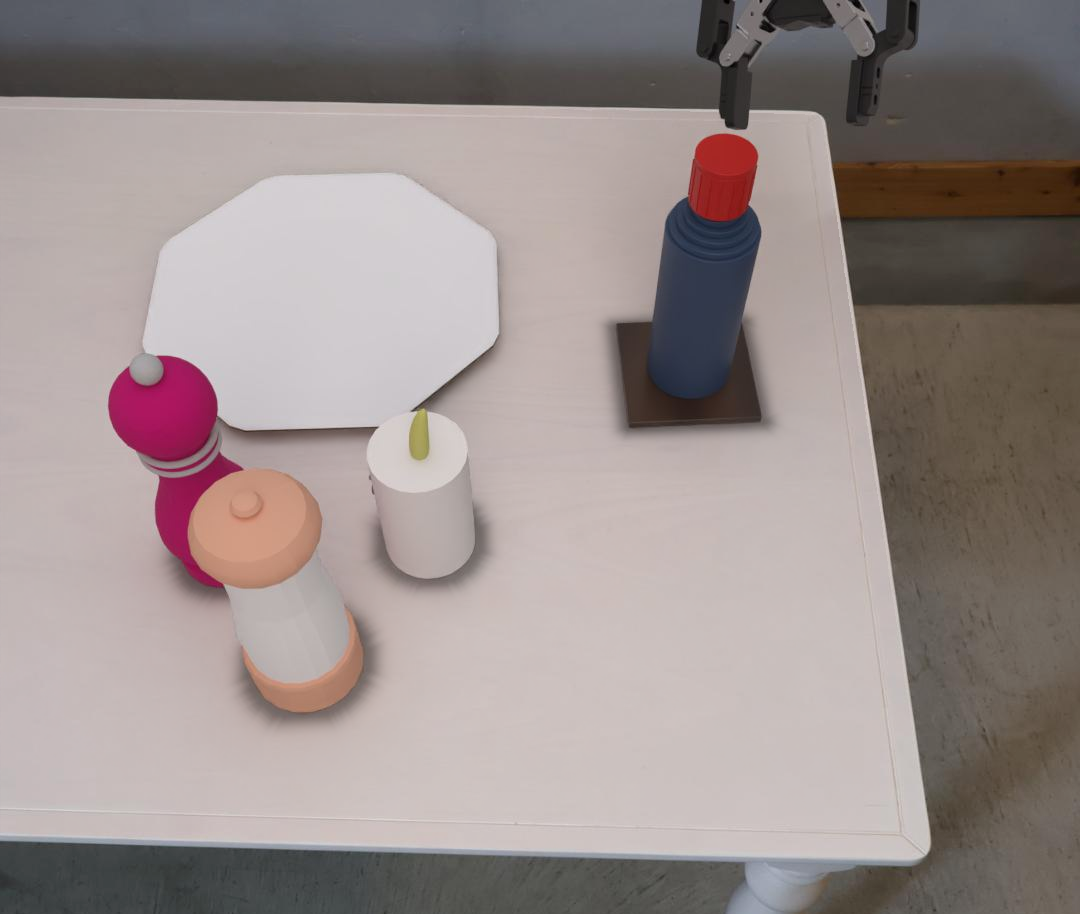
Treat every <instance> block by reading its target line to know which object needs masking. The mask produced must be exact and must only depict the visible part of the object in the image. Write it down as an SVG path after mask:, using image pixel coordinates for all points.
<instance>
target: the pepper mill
mask: <svg viewBox="0 0 1080 914" xmlns="http://www.w3.org/2000/svg"><path fill="white" fill-rule="evenodd" d="M107 400H108V402H107V409H108V416H109V417H108V418H109V421H110V423H111V425H112V428H113V430H114V432H115V433H116V434H117V436H118V437H119V438H120V440H121V441H123V443H124V444H125V445H126V446H127V447H129V448H130V449H132V450H134V451H135V453H136V454H137V456H138V458H139V461H140V462H141V464H142V466H143V467H144V468H145V469H147V470H148V471H149V472H150V473H152V474H154V475H157V476H158V486H157V491H156V495H155V500H154V518H155V519H154V520H155V526H156V528H157V531H158V535H159V537H160V539H161V541H162V543H163V545H164V546H165V547H166V549H167V550H168V552H170V553H171V554H172V555H173V556H174V557H175V558H178V559H179V560H180V561H181V563H182V565H183V566H184V568H185V569H186V571H187V573H188V574H189V575H190V576H191V578H193V579H194V580H196V581H197V582H198V583H201V584H203V585H206V586H210V587H215V588H225V587H224V585H223V583H221V582H219V581H217V580H216V579H214V578H213V577H211V576H210V575H209V574H207V573H206V572H204V571H203V570H201V568H200V567H199V565H198V564H197V562H196V561H195V560H194V558H193V557H192V555H191V551H190V546H189V541H188V526H189V521H190V515H191V512H192V510H193V509H194V507H195V505H196V503H197V502H198V500H199V498H200V497H201V496H202V494H203V493H204V492H205V491H206V490H208V489H209V488H210V487H211V486H212V485H213V484H214V483H215V482H216V481H218V480H220V479H222V478H223V477H225V476H227V475H229V474H231V473H234V472H238V471H242V470H245V468H243V467H242V466H241V465H239V464H237V462H234V461H232V460H231V459H229V458H227V457H226V456H224V455H223V454H222V453H221V448H222V443H223V433H222V429H221V427H220V425H219V422H218V416H217V414H218V401H217V397H216V393H215V391H214V389H213V387H212V385H211V383H210V381H209V380H208V378H207V377H206V376H205V375H204V373H203V372H202V371H201V370H200V369H199V368H197V367H196V366H195V365H193V364H192V363H190V362H188V361H186V360H184V359H181V358H178V357H173V356H164V355H158V356H154V355H153V354H148V353H145V352H144V353H139V354H137V355H135V356H134V357H133V358H132V359H131V361H130V363H129V365H128V366H126V368H124V370H122V371H121V372H120V373H119V374H118V375H117V377H116V378H115V380H114V381H113V383H112V384H111V388H110V390H109V394H108V399H107Z"/></svg>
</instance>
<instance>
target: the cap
mask: <svg viewBox="0 0 1080 914" xmlns="http://www.w3.org/2000/svg"><path fill="white" fill-rule="evenodd" d="M758 162H759V152H758V150H757V148H756V146H755V145H754V144H753V143H752V142H751V141H750V140H748V138H747V139H746V138H745V137H742V136H740V135H737V134H733V133H724V132H723V133H722V132H721V133H714V134H711V135H707V136H706V137H704V138H703V139H701V140H700V141H699V142H698V143H697V145H696V147H695V150H694V155H693V159H692V164H691V171H690V176H689V183H688V188H687V189H688V190H687V196H688V201H689V204H690V206H691V208H692V209H693V211H694V212H695V213H697V214H698V215H700V216H701V217H703V218H705V219H709V220H713V221H730V220H733V219H736V218H738V217H740V216H741V215H742V214H743V213H744V212H745V211H746V210H747V208H748V205H750V201H751V198H752V193H753V188H754V185H755V180H756V174H757V170H758V167H759V166H758Z"/></svg>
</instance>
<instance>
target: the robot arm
mask: <svg viewBox="0 0 1080 914" xmlns="http://www.w3.org/2000/svg"><path fill="white" fill-rule="evenodd" d="M736 1H737V0H701V6H700V13H699V21H698V22H699V23H698V30H697V31H698V32H697V38H696V39H697V40H696V48H695V52H696V55H697V56H698V57H699V58H701V59H704V60H707V61H710V62H712V63H714V64H717V65H718V66H719V68H720V71H721V78H720V87H719V88H720V89H719V90H720V91H719V103H718V114H719V117H720V120H724V125H725V128H727V129H730V130H734V131H742V130H743V131H746V130H747V129H748V127H749V120H750V119H749V117H750V109H751V108H750V107H751V96H752V83H753V72H751V71H749V70H750V68H751V66H753V64H754V62H755V61H756V59H757V58H758V56H759V55H760V53H762V51H763V50H764V48H765V47H766V46H768V45H769V44H771V43H772V42H773V41H774V39H776V36H777V35H778V34H779V32H780V31H781V30H784V31H786V32H798V31H801V30H804V29H807V28H809V27H813V28H818V29H830V28H831V29H832V28H834V25H835V24H837V26H838V27H839V28H840V29H841V30H842V32H843V33H844V35H845V36H846V37H847V39H848V40H849V42H850V44H851V46H852V48H854V50H855V52H856V54H857V55H856V59H851V62H850V72H849V82H848V90H847V91H848V92H847V102H846V110H845V112H846V113H845V122H846V124H847V125H850V126H854V127H867V126H868V124H869V122H870V117H875V116H876V114H877V113H878V110H879V108H880V101H881V100H880V97H881V90H882V79H883V73H884V72H883V70H884V65H885V63H886V61H887V60H888V59H889V58H890V57H891V56H893V55H895V54H897V53H900V52H902V51H910V50H912V49H913V48H915V47H916V45H917V44H918V41H919V28H920V10H921V0H886V11H885V12H886V15H885V29H883V30H880V31H879V30H878V29H877V27H876V25H875V21H874V19H873V18H872V15H871V14H870V12H869V11H868V9H867V8H866V6H865V4H864V3H863V1H862V0H750V1H749V3H748V4H747V6H746V7H745V9H744V10H743V12H742V13H741V15H740V17H739V18H738V19H737V21H736V24H735V27H736V28H735V30H734V32H733V33H732V31H733V22H734V13H735V8H736V7H735V6H736Z"/></svg>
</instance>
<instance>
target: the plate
mask: <svg viewBox="0 0 1080 914" xmlns="http://www.w3.org/2000/svg"><path fill="white" fill-rule="evenodd" d="M498 275H499V273H498V242H497V240H496V239H495V237H494V235H493V234H492V232H491V231H490V230H488V229H487V228H485V227H484V226H482V225H481V224H479V223H478V222H476V221H475V220H473V219H472V218H470V217H469V216H467V215H466V214H464V213H463V212H461V211H459V210H458V209H457V208H455V207H453V206H452V205H451V204H449V203H447V202H446V201H445V200H444V199H442V198H441V197H438V196H437V195H435V194H434V193H432V191H429V190H428V189H427V188H425V187H423V186H422V185H421V184H419V183H418V182H416V181H415V180H413V179H412V178H411V177H409V176H407V175H403V174H400V173H395V172H362V173H326V174H325V173H324V174H323V173H322V174H320V173H319V174H318V173H317V174H280V175H279V174H277V175H273V176H270V177H267V178H263V179H260V181H258V182H256V183H255V184H253V185H251V186H249V188H247V189H246V190H244V191H242V192H241V193H239V194H237V195H236V196H234V197H232V198H231V199H230V200H228V201H226V202H225V203H223V204H222V205H221V206H219V207H217V208H216V209H214V210H212V211H210V213H208V214H206V215H204V216H203V217H202V218H200V219H198V220H197V221H195V222H194V223H193V224H191V225H189V226H188V227H186V228H185V229H183V230H182V231H180V232H178V233H176V234H175V235H174V236H172V237H171V238H169V239H167V241H166V242H165V243H164V245H163V246H162V248H160V249H159V254H158V259H157V264H156V269H155V273H154V279H153V284H152V290H151V294H150V299H149V300H150V301H149V305H148V312H147V315H146V320H145V325H144V331H143V337H142V341H141V344H142V347H143V350H144V353H148V354H153V355H154V356H158V355H164V356H173V357H178V358H181V359H184V360H186V361H188V362H190V363H192V364H193V365H195V366H196V367H197V368H199V369H200V370H201V371H202V372H203V373H204V375H205V376H206V377H207V378H208V380H209V381H210V383H211V385H212V387H213V389H214V391H215V393H216V397H217V401H218V414H217V418H218V419H220V420H221V421H222V422H223V423H224V424H226V425H227V426H228V427H229V428H231V429H234V430H237V431H241V432H244V433H261V432H262V433H263V432H295V431H296V432H297V431H299V432H300V431H328V430H329V431H331V430H334V431H335V430H364V429H365V430H366V429H378V428H379V427H380V426H381V425H382V424H383V423H384V422H386V421H387V420H389V419H391V418H393V417H394V416H397V415H400V414H403V413H407V412H415V410H416V409H418V408H419V407H420V406H421V405H423V404H424V403H425V402H426V401H428V400H429V399H430V398H431V397H433V396H434V395H435V394H436V393H438V392H439V391H440V390H441V389H443V388H444V387H445V386H446V385H448V384H449V383H450V382H451V381H453V380H454V379H455V378H457V377H458V376H459V375H460V374H462V372H464V371H465V370H466V369H468V368H469V367H470V366H471V365H472V364H474V363H475V362H476V361H478V360H479V359H480V358H481V357H482V356H484V355H485V354H487V353H488V352H489V351H490V350H491V349H492V348H494V346H495V344H496V343H497V340H498V338H499V336H500V318H499V317H500V313H499V309H500V307H499V280H498V279H499V277H498Z"/></svg>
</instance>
